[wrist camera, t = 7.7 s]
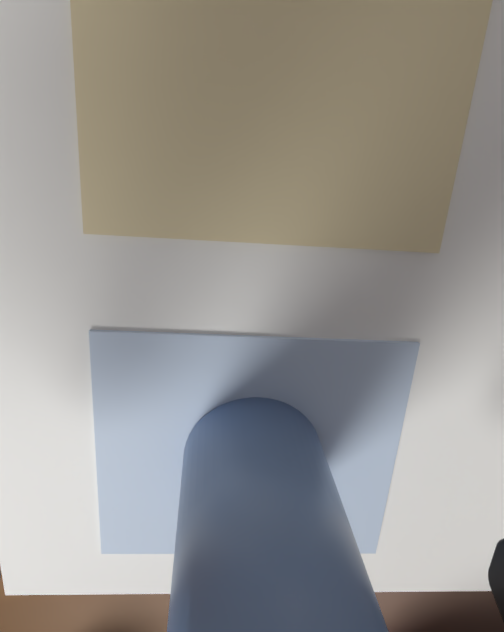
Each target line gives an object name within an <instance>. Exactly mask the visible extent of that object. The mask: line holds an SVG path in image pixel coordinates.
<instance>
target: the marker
mask: <svg viewBox="0 0 504 632" xmlns="http://www.w3.org/2000/svg"><path fill="white" fill-rule="evenodd" d="M167 632H388V629H387V626H386V624H385V621H384V618H383V615H382V612H381V610H380V607H379V604H378V601H377V598H376V596H375V593H374V590H373V587H372V585H371V582H370V579H369V576H368V573H367V571H366V568H365V565H364V562H363V560H362V557H361V554H360V551H359V548H358V546H357V543H356V540H355V537H354V534H353V532H352V529H351V526H350V523H349V521H348V518H347V515H346V512H345V509H344V507H343V504H342V501H341V498H340V495H339V493H338V490H337V487H336V484H335V482H334V479H333V476H332V473H331V470H330V468H329V465H328V462H327V459H326V457H325V454H324V451H323V448H322V445H321V443H320V440H319V437H318V435H317V432H316V430H315V428H314V427H313V425H312V423H311V422H310V421H309V420H308V419H307V417H306V416H305V415H303V414H302V413H301V412H300V411H299V410H297V409H296V408H294V407H292V406H290V405H288V404H286V403H284V402H281V401H278V400H274V399H269V398H261V397H252V398H242V399H237V400H234V401H230V402H227V403H225V404H222V405H220V406H218V407H217V408H215V409H213V410H212V411H210V412H209V413H207V414H206V415H205V416H204V417H203V418H202V419H201V420H199V422H198V423H197V424H196V425H195V426H194V428H193V429H192V431H191V433H190V434H189V436H188V439H187V441H186V444H185V448H184V455H183V466H182V476H181V487H180V498H179V508H178V519H177V530H176V540H175V551H174V562H173V572H172V583H171V594H170V604H169V615H168V626H167Z"/></svg>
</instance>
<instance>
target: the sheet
mask: <svg viewBox="0 0 504 632" xmlns="http://www.w3.org/2000/svg"><path fill="white" fill-rule="evenodd" d="M252 397H261V398H269V399H274V400H278V401H281V402H284V403H286V404H288V405H290V406H292V407H294V408H296V409H297V410H299V411H300V412H301V413H302V414H303V415H305V416H306V417H307V419H308V420H309V421H310V422H311V423H312V425H313V427H314V428H315V430H316V432H317V435H318V437H319V440H320V443H321V445H322V448H323V451H324V454H325V457H326V459H327V462H328V465H329V468H330V470H331V473H332V476H333V479H334V482H335V484H336V487H337V490H338V493H339V495H340V498H341V501H342V504H343V507H344V509H345V512H346V515H347V518H348V521H349V523H350V526H351V529H352V532H353V534H354V537H355V540H356V543H357V546H358V548H359V551H360V554H361V557H362V560H363V562H364V565H365V568H366V571H367V573H368V576H369V579H370V582H371V585H372V587H373V590H374V592H430V591H492V590H491V588H490V585H489V581H488V569H489V566H490V563H491V560H492V557H493V554H494V551H495V548H496V545H497V543H498V541H499V540H501V539H504V0H0V565H1V572H2V578H3V584H4V591H5V595H80V594H171V583H172V572H173V562H174V551H175V540H176V530H177V519H178V508H179V498H180V487H181V476H182V466H183V455H184V448H185V444H186V441H187V439H188V436H189V434H190V433H191V431H192V429H193V428H194V426H195V425H196V424H197V423H198V422H199V420H201V419H202V418H203V417H204V416H205V415H206V414H207V413H209V412H210V411H212V410H213V409H215V408H217V407H218V406H220V405H222V404H225V403H227V402H230V401H234V400H237V399H242V398H252Z"/></svg>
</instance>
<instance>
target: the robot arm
mask: <svg viewBox="0 0 504 632" xmlns="http://www.w3.org/2000/svg"><path fill="white" fill-rule="evenodd" d="M0 575H1V573H0ZM488 581H489V585H490V588H491V590H492V593H493V596H494V598H495V601H496V603H497V606H498V609H499V611H500V614H501V616H502V619H503V622H504V539H501V540H499V541H498V543H497V545H496V548H495V551H494V554H493V557H492V560H491V563H490V566H489V569H488Z"/></svg>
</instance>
